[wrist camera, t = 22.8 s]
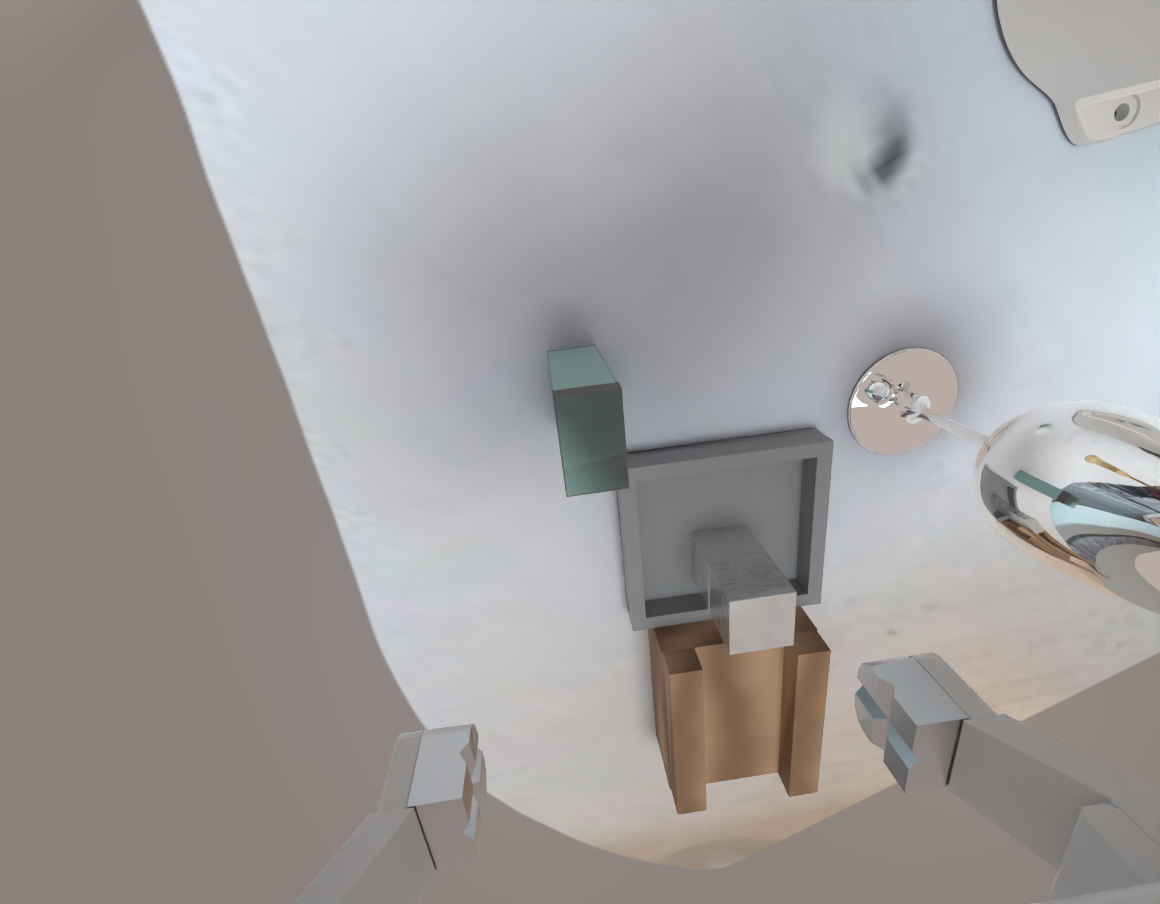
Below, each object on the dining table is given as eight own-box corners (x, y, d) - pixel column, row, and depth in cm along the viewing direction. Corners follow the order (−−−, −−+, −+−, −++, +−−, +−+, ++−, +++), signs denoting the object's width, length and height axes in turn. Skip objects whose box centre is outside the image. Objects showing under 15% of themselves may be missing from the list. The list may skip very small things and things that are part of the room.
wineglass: (908, 471, 39) (1248, 687, 20) (823, 429, 37) (1113, 627, 19) (979, 374, 36) (1438, 522, 18) (892, 325, 35) (1305, 434, 16)
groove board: (785, 585, 42) (832, 650, 35) (779, 715, 47) (818, 791, 41) (646, 605, 41) (668, 675, 35) (656, 734, 47) (676, 814, 40)
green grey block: (546, 350, 33) (553, 396, 24) (596, 344, 33) (621, 387, 24) (556, 427, 35) (566, 496, 26) (603, 421, 35) (629, 488, 26)
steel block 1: (744, 570, 40) (745, 524, 39) (766, 604, 37) (768, 555, 35) (692, 577, 40) (691, 531, 39) (708, 612, 36) (708, 563, 35)
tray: (814, 427, 37) (833, 440, 35) (804, 582, 42) (820, 603, 40) (613, 454, 36) (619, 470, 34) (627, 608, 41) (633, 630, 39)
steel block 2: (768, 553, 35) (796, 592, 31) (767, 603, 37) (793, 645, 33) (708, 562, 35) (729, 602, 31) (709, 611, 36) (729, 654, 33)
